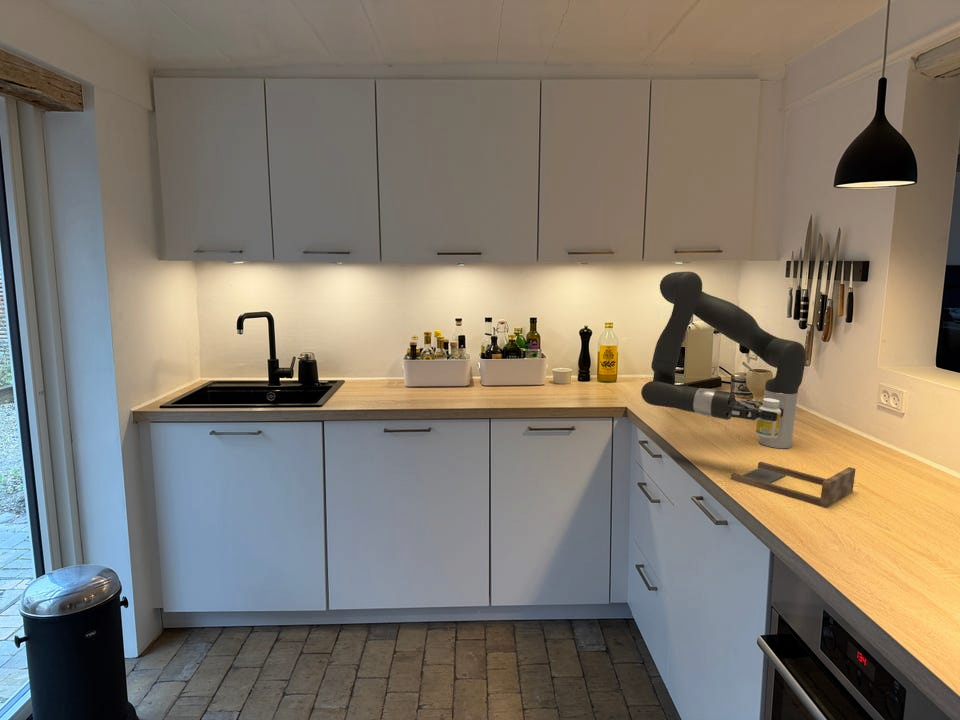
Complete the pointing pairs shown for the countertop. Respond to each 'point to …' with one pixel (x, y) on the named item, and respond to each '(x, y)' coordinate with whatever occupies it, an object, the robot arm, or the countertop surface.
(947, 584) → the countertop surface
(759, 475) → the front mat
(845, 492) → the bay
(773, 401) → the supplement bottle
